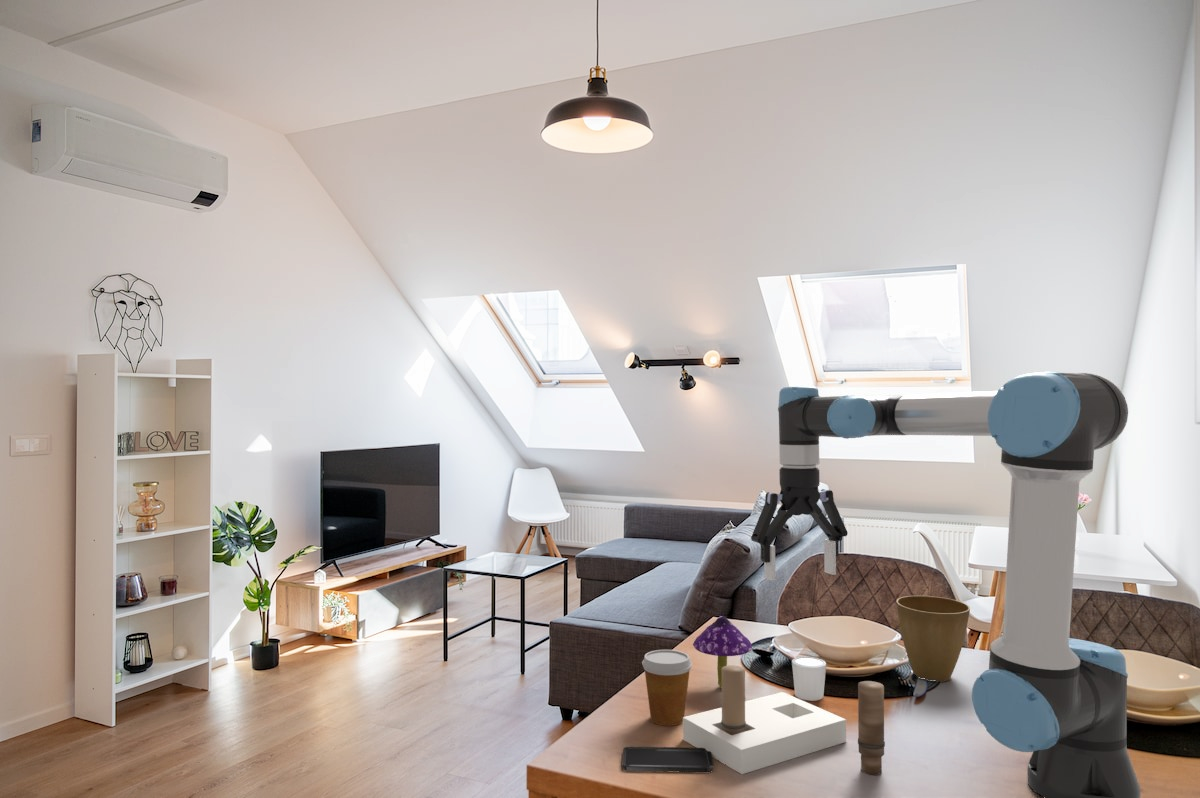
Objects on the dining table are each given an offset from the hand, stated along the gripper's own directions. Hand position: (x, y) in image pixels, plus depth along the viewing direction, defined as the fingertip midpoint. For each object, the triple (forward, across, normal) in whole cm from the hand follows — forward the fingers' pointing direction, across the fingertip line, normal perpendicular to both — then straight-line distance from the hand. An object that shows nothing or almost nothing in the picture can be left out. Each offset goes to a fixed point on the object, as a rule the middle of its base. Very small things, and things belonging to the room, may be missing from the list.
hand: (800, 576), depth 160 cm
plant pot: (+27, -38, -8) cm, 47 cm away
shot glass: (+27, -7, -8) cm, 29 cm away
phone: (+27, +33, +10) cm, 44 cm away
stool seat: (+27, +13, +8) cm, 31 cm away
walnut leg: (+27, +3, +25) cm, 36 cm away
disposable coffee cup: (+27, +25, -7) cm, 37 cm away
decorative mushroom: (+26, +7, -18) cm, 33 cm away
